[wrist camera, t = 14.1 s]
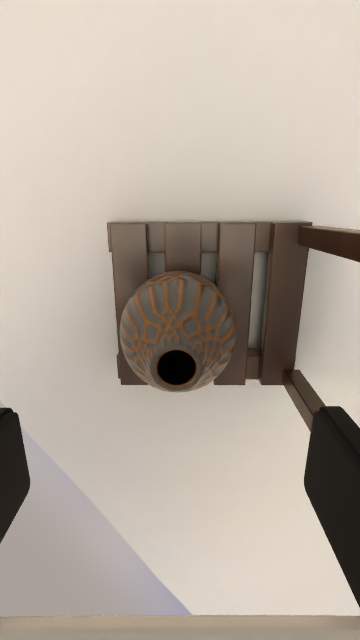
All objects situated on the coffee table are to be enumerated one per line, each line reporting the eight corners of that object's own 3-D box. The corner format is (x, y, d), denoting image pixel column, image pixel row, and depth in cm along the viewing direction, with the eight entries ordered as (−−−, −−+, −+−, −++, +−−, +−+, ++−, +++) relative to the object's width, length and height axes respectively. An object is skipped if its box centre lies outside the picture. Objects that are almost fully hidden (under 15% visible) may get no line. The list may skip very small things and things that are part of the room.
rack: (121, 370, 27) (57, 534, 13) (111, 221, 23) (6, 236, 9) (287, 370, 27) (396, 537, 13) (304, 221, 23) (485, 235, 9)
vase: (116, 279, 22) (76, 320, 14) (213, 250, 21) (232, 275, 13) (148, 366, 24) (129, 446, 16) (237, 342, 23) (267, 413, 15)
